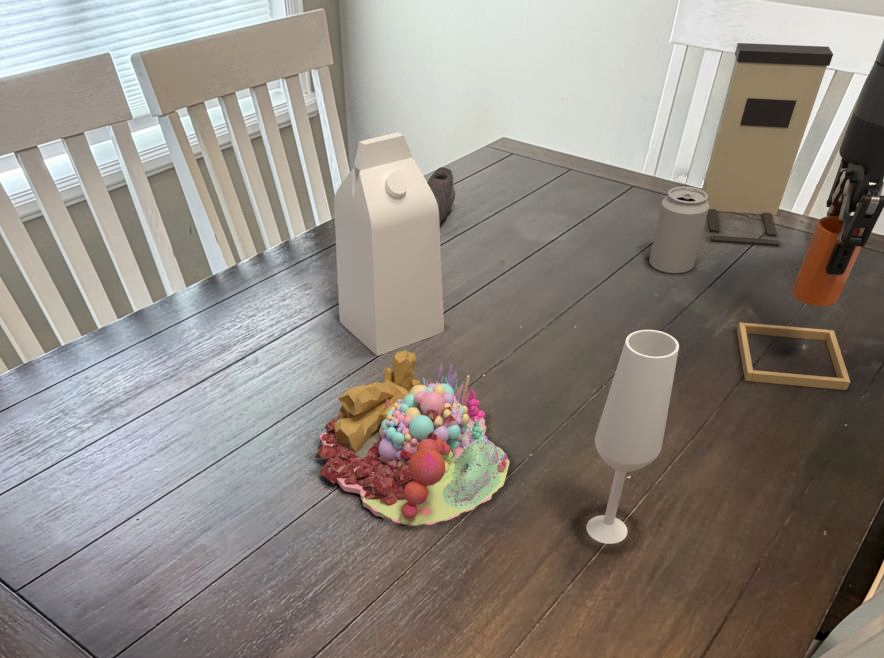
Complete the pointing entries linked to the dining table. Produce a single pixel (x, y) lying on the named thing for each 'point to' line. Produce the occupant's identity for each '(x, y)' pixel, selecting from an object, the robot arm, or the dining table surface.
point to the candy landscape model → (413, 447)
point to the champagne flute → (634, 418)
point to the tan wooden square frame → (786, 378)
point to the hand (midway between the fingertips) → (829, 260)
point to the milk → (388, 248)
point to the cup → (822, 266)
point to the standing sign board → (761, 131)
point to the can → (679, 230)
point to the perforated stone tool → (442, 190)
